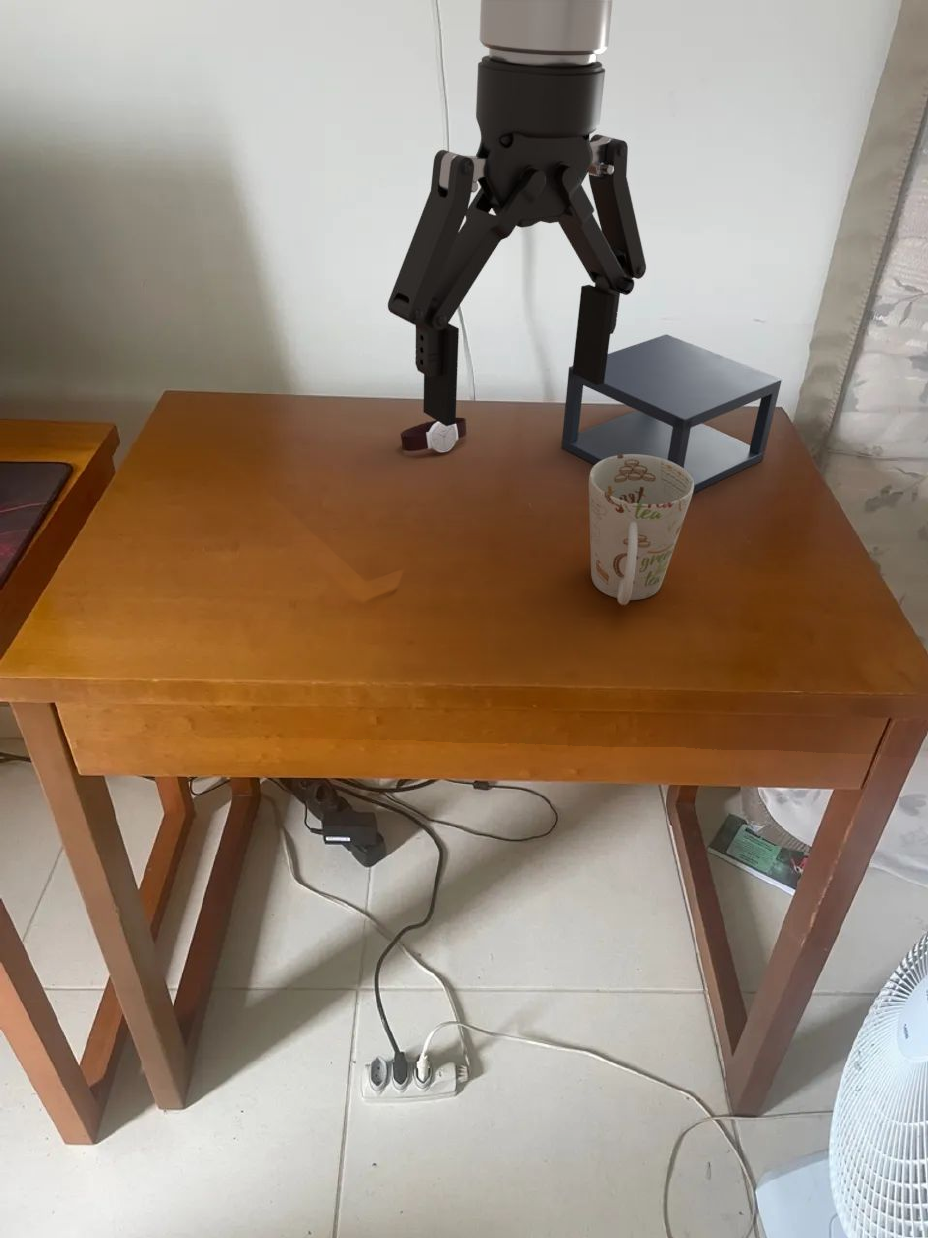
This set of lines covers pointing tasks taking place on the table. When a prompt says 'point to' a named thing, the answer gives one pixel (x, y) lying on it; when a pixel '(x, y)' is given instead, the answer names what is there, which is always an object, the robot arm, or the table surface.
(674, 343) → the shelf
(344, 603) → the table surface
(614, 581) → the mug
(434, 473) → the table surface
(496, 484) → the table surface
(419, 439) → the watch
